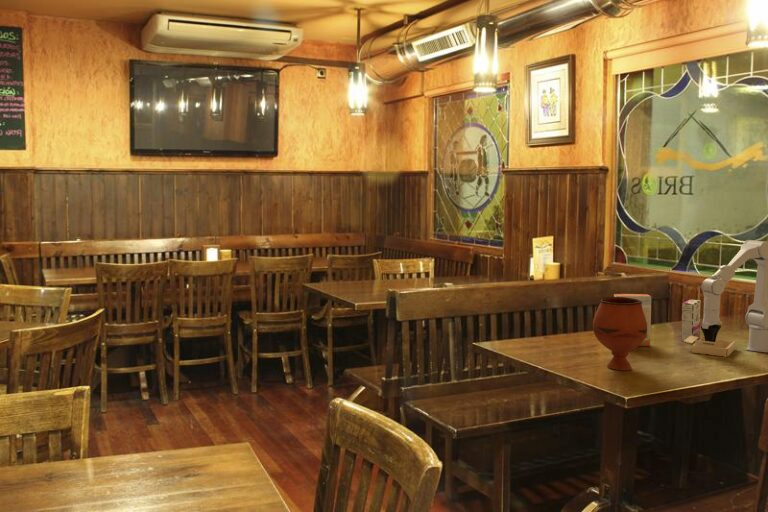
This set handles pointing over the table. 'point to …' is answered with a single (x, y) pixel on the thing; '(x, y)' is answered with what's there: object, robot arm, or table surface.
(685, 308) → the candy bar box
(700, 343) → the flap
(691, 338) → the flap
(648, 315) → the cracker box
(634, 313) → the goblet
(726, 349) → the carton
